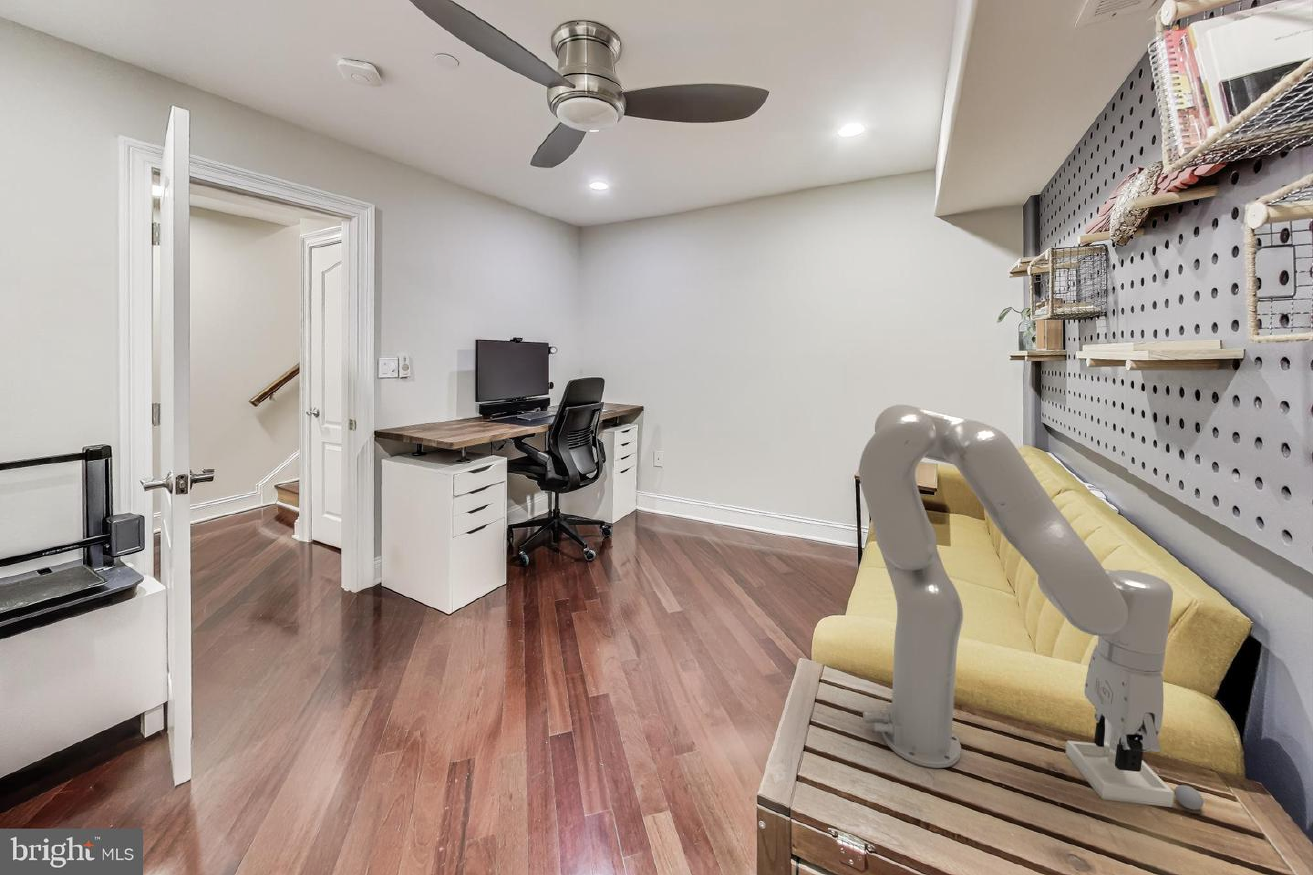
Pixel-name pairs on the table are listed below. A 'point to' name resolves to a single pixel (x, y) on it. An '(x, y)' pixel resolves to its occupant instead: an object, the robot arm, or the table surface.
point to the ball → (1188, 797)
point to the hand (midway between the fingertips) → (1116, 756)
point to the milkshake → (1112, 745)
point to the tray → (1118, 778)
